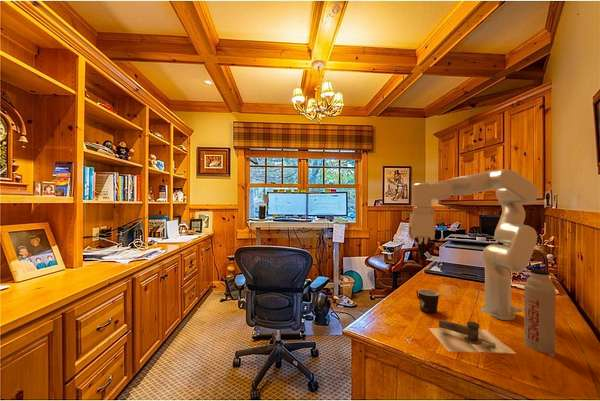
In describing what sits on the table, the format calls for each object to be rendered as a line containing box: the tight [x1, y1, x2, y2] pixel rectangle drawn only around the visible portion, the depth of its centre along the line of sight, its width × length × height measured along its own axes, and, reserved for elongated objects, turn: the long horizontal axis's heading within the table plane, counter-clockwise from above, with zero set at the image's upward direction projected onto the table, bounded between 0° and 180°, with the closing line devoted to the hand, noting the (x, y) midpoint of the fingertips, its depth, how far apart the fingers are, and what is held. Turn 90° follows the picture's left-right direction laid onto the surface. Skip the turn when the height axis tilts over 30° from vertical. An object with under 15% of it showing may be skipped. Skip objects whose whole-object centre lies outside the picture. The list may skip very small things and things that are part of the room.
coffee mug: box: [416, 288, 440, 315], centre depth 123 cm, size 12×9×10 cm
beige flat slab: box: [428, 327, 517, 355], centre depth 97 cm, size 22×16×2 cm
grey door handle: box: [438, 319, 496, 345], centre depth 97 cm, size 18×4×5 cm, turn 49°
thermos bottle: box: [523, 268, 556, 358], centre depth 92 cm, size 8×8×28 cm
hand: (421, 252), depth 117 cm, fingers closed
